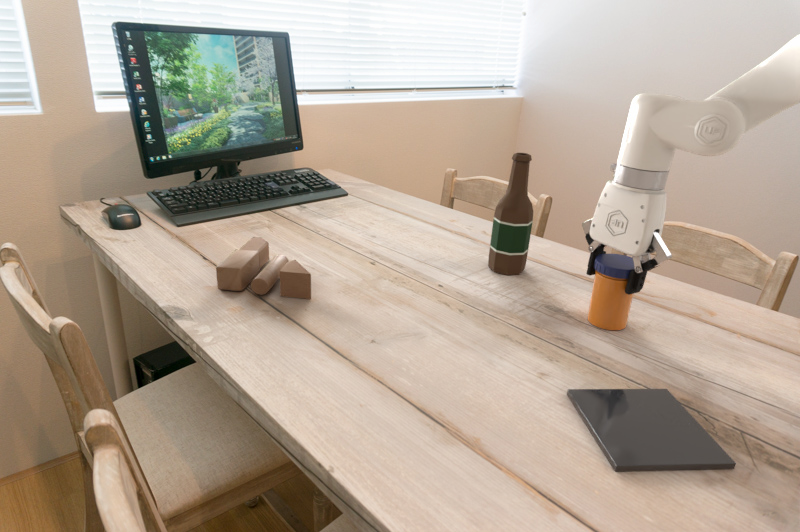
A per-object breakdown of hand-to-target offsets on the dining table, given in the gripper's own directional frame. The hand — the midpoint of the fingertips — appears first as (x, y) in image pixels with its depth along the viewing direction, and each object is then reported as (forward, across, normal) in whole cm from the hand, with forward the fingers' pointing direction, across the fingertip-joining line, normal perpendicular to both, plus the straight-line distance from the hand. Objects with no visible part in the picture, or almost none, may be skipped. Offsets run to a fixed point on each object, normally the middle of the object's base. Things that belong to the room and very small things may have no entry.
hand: (612, 282), depth 88 cm
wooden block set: (+9, -40, -44) cm, 60 cm away
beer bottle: (+8, -25, +1) cm, 27 cm away
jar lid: (-3, 0, 0) cm, 3 cm away
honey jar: (+7, 0, +1) cm, 7 cm away
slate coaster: (+7, +21, -19) cm, 29 cm away
